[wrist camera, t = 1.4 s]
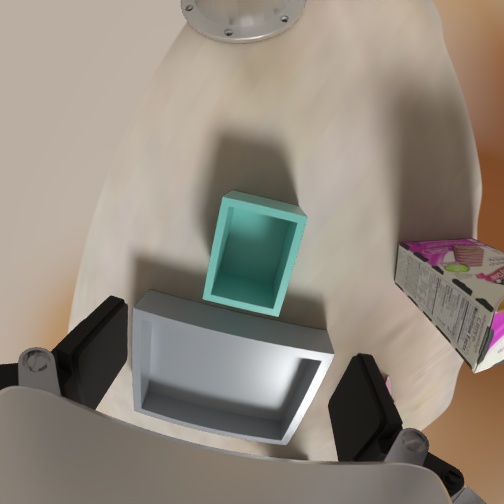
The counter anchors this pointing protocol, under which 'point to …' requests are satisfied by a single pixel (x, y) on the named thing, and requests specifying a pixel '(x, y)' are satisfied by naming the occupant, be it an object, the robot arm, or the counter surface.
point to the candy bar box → (458, 294)
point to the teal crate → (253, 252)
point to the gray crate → (224, 368)
